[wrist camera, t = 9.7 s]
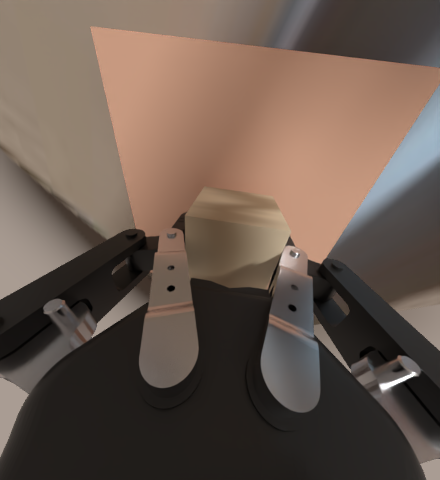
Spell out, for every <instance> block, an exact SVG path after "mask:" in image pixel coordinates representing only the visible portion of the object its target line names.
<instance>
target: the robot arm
mask: <svg viewBox="0 0 440 480" xmlns="http://www.w3.org/2000/svg"><path fill="white" fill-rule="evenodd" d="M186 213H187V212H185V213H183V214H181V215H180V217H179V218H178V219H177V221H176V222H175V224H174V225H173V226H172V228H168V229H164V230H162V231H161V232H160V234H159V236H149V237H146V236H145V232H144V231H143V230H140V229H129V230H125V231H123V232H121V233H119V234H117V235H116V236H114V237H112V238H110V239H108V240H107V241H105V242H103V243H101V244H99V245H98V246H96V247H94V248H92V249H91V250H89V251H87V252H85V253H83V254H82V255H80V256H78V257H76V258H74V259H73V260H71V261H69V262H67V263H65V264H64V265H62V266H60V267H58V268H57V269H55V270H53V271H51V272H49V273H48V274H46V275H44V276H42V277H41V278H39V279H37V280H35V281H33V282H31V283H30V284H28V285H26V286H24V287H23V288H21V289H19V290H17V291H16V292H14V293H12V294H10V295H8V296H6V297H5V298H3V299H1V300H0V378H4V379H6V380H8V381H10V382H12V383H14V384H16V385H17V386H19V387H20V388H21V389H22V390H24V391H25V392H27V393H28V394H29V396H28V397H27V399H26V400H25V402H24V404H23V406H22V408H21V410H20V412H19V413H18V416H17V419H16V421H15V424H14V426H13V429H12V432H11V434H10V437H9V439H8V442H7V444H6V446H5V448H4V450H3V453H2V455H1V457H0V480H426V478H425V475H424V472H423V469H422V467H421V465H420V464H421V463H424V462H427V461H431V460H434V459H440V351H439V350H438V349H437V348H436V347H434V345H432V344H431V343H430V342H429V341H428V340H427V339H426V338H425V337H424V336H423V335H422V334H420V333H419V332H418V331H417V330H416V329H415V328H414V327H413V326H412V325H410V324H409V323H408V322H407V321H406V320H405V319H404V318H403V317H402V316H400V315H399V314H398V313H397V312H396V311H395V310H394V309H393V308H392V307H391V306H390V305H389V304H387V303H386V302H385V301H384V300H383V299H382V298H381V297H380V296H379V295H378V294H376V293H375V292H374V291H373V290H372V289H371V288H370V287H369V286H368V285H367V284H365V283H364V282H363V281H362V280H361V279H360V278H359V277H358V276H357V275H356V274H354V273H353V272H352V271H351V270H350V269H349V268H348V267H347V266H346V265H344V264H343V263H341V262H339V261H337V260H334V259H324V260H323V262H322V263H321V264H320V263H317V262H314V261H311V260H309V259H308V256H307V254H306V253H305V252H304V251H303V250H301V249H300V248H297V247H295V245H294V243H293V241H292V239H291V237H290V236H289V238H288V241H287V243H286V245H285V247H284V250H283V252H282V254H281V257H280V259H279V261H278V263H277V266H276V268H275V270H274V273H273V275H272V277H271V280H270V282H269V285H268V289H267V290H266V289H260V288H253V287H239V288H228V287H225V286H223V285H220V284H218V283H215V282H212V281H209V280H203V279H197V278H191V280H190V278H189V269H188V261H187V253H186V250H185V214H186ZM124 260H125V261H126V264H125V265H124V266H123V267H121V268H120V269H119V270H118V271H116V272H115V273H114V274H113V275H112V271H113V269H114V267H115V266H117V265H118V264H120V263H121V262H122V261H124ZM151 270H153V273H152V281H151V289H150V298H149V302H148V303H146V304H144V305H143V306H141V307H140V308H139V309H137V310H135V311H134V312H132V313H131V314H129V315H127V316H126V317H124V318H123V319H121V320H120V321H118V322H117V323H115V324H114V325H112V326H110V327H109V328H107V329H106V330H104V331H103V332H101V333H100V334H98V335H96V336H95V337H93V338H92V337H91V336H92V335H93V334H94V332H95V330H96V327H97V323H98V322H99V321H100V320H101V319H102V318H103V317H104V316H105V315H106V314H107V313H108V312H109V311H110V310H111V309H112V308H113V307H114V306H115V305H116V304H117V303H118V302H119V301H120V300H122V299H123V298H124V297H125V296H126V295H127V294H128V293H129V292H130V291H131V290H132V289H133V288H134V287H135V286H136V285H137V284H138V283H139V282H140V281H141V280H142V279H143V278H144V277H145V276H146V275H147V274H148V273H149V272H150V271H151ZM336 292H337V293H338V294H339V295H340V296H341V297H342V298H343V300H344V301H345V302H346V303H347V304H348V306H349V309H350V312H349V314H348V316H346V315H345V314H344V312H343V311H342V310H341V309H340V307H339V306H338V305H337V304H336V302H335V301H334V300H333V299H332V297H333V296H334V294H335V293H336ZM313 312H314V314H315V315H316V317H317V318H318V320H319V321H320V323H321V324H322V326H323V327H324V329H325V331H326V332H327V334H328V335H329V337H330V338H331V340H332V341H333V343H334V345H335V346H336V348H337V349H338V351H339V352H340V354H341V355H342V357H343V359H344V360H345V361H346V363H347V365H348V366H349V368H350V369H351V373H350V372H349V371H348V370H347V369H346V368H345V367H344V365H342V363H341V362H340V361H339V360H338V359H337V358H336V357H335V356H334V355H333V354H332V353H331V352H330V351H329V350H328V349H327V348H326V347H325V345H324V344H323V343H322V342H321V341H320V340H319V339H318V338H317V337H316V336H315V335H314V329H313V328H314V325H313Z"/></svg>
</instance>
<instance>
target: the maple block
mask: <svg viewBox="0 0 440 480" xmlns="http://www.w3.org/2000/svg"><path fill="white" fill-rule="evenodd" d="M290 234H291V230H290V228H289V226H288V224H287V222H286V220H285V218H284V217H283V215H282V213H281V211H280V209H279V207H278V205H277V203H276V201H275V200H274V198H273V196H268V195H261V194H255V193H248V192H241V191H234V190H227V189H220V188H214V187H207V186H204V188H203V189H202V191H201V192H200V194H199V195H198V197H197V198H196V200H195V201H194V203H193V204H192V206H191V207H190V209H189V210H188V212H187V213H186V214H185V250H186V253H187V261H188V269H189V278H190V280H191V278H197V279H203V280H209V281H212V282H215V283H218V284H220V285H223V286H225V287H228V288H239V287H253V288H260V289H267V286H268V284H269V282H270V280H271V277H272V275H273V273H274V270H275V268H276V266H277V263H278V261H279V259H280V257H281V254H282V252H283V250H284V247H285V245H286V243H287V241H288V238H289V236H290Z"/></svg>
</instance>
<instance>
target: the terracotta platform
mask: <svg viewBox="0 0 440 480" xmlns="http://www.w3.org/2000/svg"><path fill="white" fill-rule="evenodd" d="M90 27H91V26H90ZM91 32H92V36H93V41H94V45H95V49H96V54H97V58H98V63H99V67H100V72H101V76H102V80H103V85H104V89H105V94H106V98H107V103H108V107H109V112H110V116H111V120H112V125H113V129H114V134H115V138H116V143H117V147H118V151H119V156H120V160H121V165H122V169H123V174H124V178H125V182H126V187H127V191H128V196H129V200H130V205H131V209H132V214H133V218H134V222H135V227H136V229H140V230H143V231H144V232H145V236H146V237H149V236H159V234H160V232H161V231H162V230H164V229H168V228H172V226H173V225H174V224H175V222H176V221H177V219H178V218H179V217H180V215H181V214H183V213H185V212H188V210H189V209H190V207H191V206H192V204H193V203H194V201H195V200H196V198H197V197H198V195H199V194H200V192H201V191H202V189H203V188H204V186H207V187H214V188H220V189H227V190H234V191H241V192H248V193H255V194H261V195H268V196H273V198H274V200H275V201H276V203H277V205H278V207H279V209H280V211H281V213H282V215H283V217H284V218H285V220H286V222H287V224H288V226H289V228H290V230H291V234H290V237H291V239H292V241H293V243H294V245H295V247H297V248H300V249H301V250H303V251H304V252H305V253H306V254H307V256H308V259H309V260H311V261H314V262H317V263H320V264H321V263H322V262H323V260H324V259H326V257H327V256H328V254H329V252H330V251H331V249H332V248H333V246H334V245H335V243H336V242H337V240H338V239H339V237H340V236H341V234H342V233H343V231H344V229H345V228H346V226H347V225H348V223H349V222H350V220H351V219H352V217H353V216H354V214H355V213H356V211H357V210H358V208H359V206H360V205H361V203H362V202H363V200H364V199H365V197H366V196H367V194H368V193H369V191H370V190H371V188H372V187H373V185H374V183H375V182H376V180H377V179H378V177H379V176H380V174H381V173H382V171H383V170H384V168H385V167H386V165H387V164H388V162H389V160H390V159H391V157H392V156H393V154H394V153H395V151H396V150H397V148H398V147H399V145H400V144H401V142H402V141H403V139H404V137H405V136H406V134H407V133H408V131H409V130H410V128H411V127H412V125H413V124H414V122H415V121H416V119H417V118H418V116H419V114H420V113H421V111H422V110H423V108H424V107H425V105H426V104H427V102H428V101H429V99H430V98H431V96H432V95H433V93H434V91H435V90H436V88H437V87H438V85H439V84H440V68H437V67H429V66H420V65H412V64H404V63H395V62H387V61H378V60H370V59H361V58H353V57H344V56H336V55H328V54H319V53H311V52H302V51H294V50H285V49H277V48H269V47H260V46H252V45H243V44H235V43H226V42H218V41H210V40H201V39H193V38H184V37H176V36H167V35H159V34H150V33H142V32H134V31H125V30H117V29H108V28H100V27H91ZM150 273H153V270H151V271H150ZM268 285H269V284H268ZM267 289H268V286H267ZM267 289H266V290H267Z"/></svg>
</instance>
